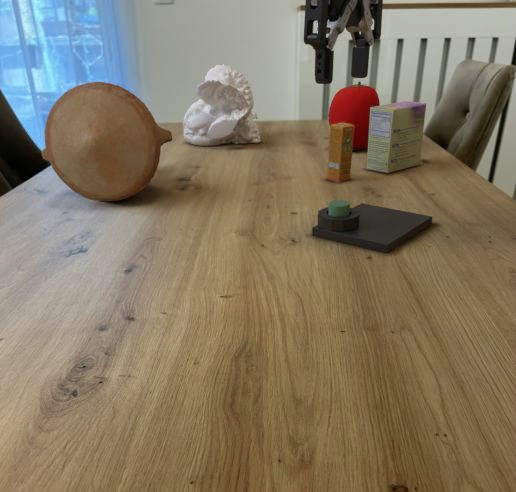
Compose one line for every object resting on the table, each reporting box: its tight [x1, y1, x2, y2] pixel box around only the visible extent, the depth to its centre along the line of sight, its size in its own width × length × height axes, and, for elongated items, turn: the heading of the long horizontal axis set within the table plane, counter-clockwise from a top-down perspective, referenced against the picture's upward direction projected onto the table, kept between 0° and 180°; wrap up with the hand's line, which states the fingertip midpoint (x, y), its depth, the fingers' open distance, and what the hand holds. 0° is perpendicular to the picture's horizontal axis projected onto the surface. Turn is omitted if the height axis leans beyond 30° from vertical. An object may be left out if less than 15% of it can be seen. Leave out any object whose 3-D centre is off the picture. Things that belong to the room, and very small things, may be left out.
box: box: [366, 101, 427, 174], centre depth 109 cm, size 10×6×12 cm, turn 130°
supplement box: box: [326, 122, 355, 183], centre depth 103 cm, size 3×3×10 cm
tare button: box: [328, 199, 351, 217], centre depth 79 cm, size 3×3×2 cm
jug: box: [41, 81, 173, 202], centre depth 100 cm, size 20×19×30 cm
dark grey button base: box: [311, 202, 433, 254], centre depth 80 cm, size 14×12×3 cm
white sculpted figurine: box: [181, 63, 262, 147], centre depth 136 cm, size 19×20×20 cm
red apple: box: [328, 81, 381, 151], centre depth 124 cm, size 13×11×14 cm
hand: (342, 80), depth 72 cm, fingers open, 8 cm apart
